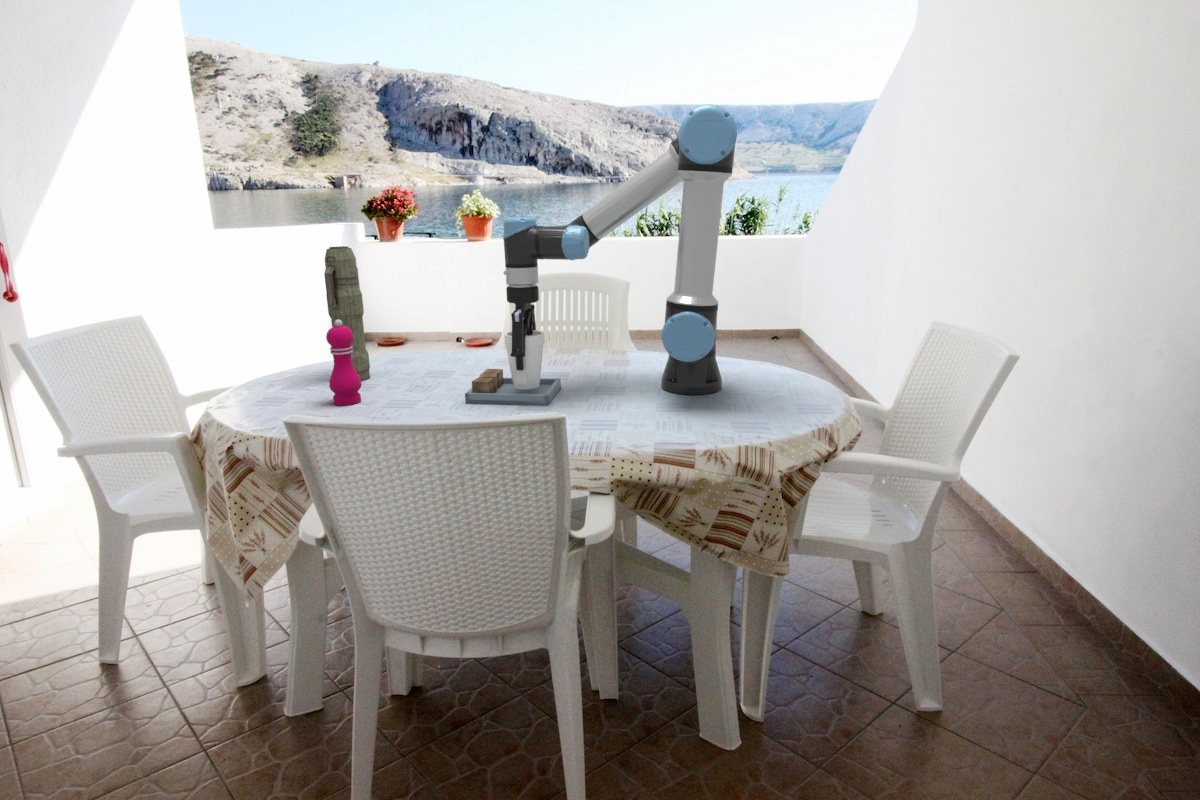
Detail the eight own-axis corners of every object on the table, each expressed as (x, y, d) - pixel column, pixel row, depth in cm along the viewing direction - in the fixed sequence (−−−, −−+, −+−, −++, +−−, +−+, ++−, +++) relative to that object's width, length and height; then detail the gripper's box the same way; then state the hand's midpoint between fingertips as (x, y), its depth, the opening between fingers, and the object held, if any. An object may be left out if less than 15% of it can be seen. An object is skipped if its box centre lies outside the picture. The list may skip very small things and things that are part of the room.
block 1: (494, 394, 173) (493, 378, 172) (488, 398, 169) (487, 382, 168) (479, 393, 174) (478, 377, 172) (472, 397, 170) (471, 381, 169)
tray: (560, 387, 181) (560, 378, 181) (548, 405, 166) (548, 395, 166) (484, 386, 184) (483, 377, 183) (465, 403, 169) (464, 393, 168)
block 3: (503, 384, 182) (502, 369, 180) (499, 388, 178) (498, 372, 177) (488, 383, 182) (487, 368, 181) (483, 388, 178) (482, 372, 177)
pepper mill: (333, 407, 167) (323, 323, 161) (329, 400, 173) (319, 318, 167) (365, 403, 170) (356, 320, 164) (360, 396, 176) (351, 316, 170)
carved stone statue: (326, 383, 189) (310, 248, 179) (349, 372, 200) (335, 245, 190) (357, 384, 187) (342, 248, 177) (378, 373, 198) (365, 245, 188)
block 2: (498, 388, 178) (497, 373, 176) (496, 392, 174) (495, 376, 173) (481, 388, 177) (481, 373, 176) (479, 393, 174) (478, 377, 173)
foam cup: (527, 393, 168) (524, 338, 164) (499, 387, 173) (496, 334, 169) (553, 384, 175) (551, 332, 171) (525, 379, 180) (523, 328, 177)
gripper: (517, 279, 178) (521, 366, 184) (494, 291, 157) (499, 389, 163) (547, 279, 177) (550, 367, 183) (527, 291, 156) (531, 389, 162)
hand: (526, 377), depth 173 cm, fingers closed on foam cup, 9 cm apart
